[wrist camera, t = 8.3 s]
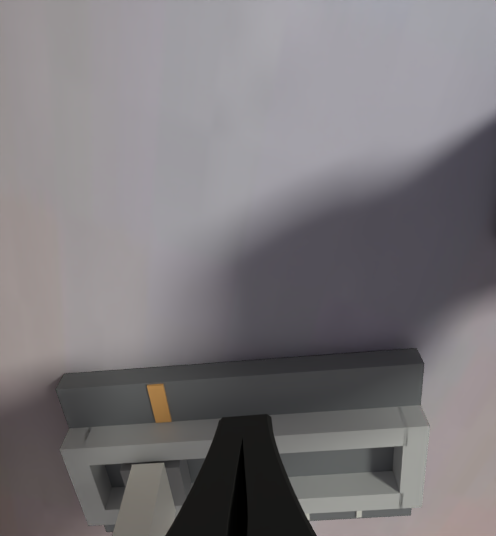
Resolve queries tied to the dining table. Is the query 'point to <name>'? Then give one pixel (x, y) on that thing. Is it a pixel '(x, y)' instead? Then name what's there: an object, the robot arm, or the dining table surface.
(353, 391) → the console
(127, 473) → the fader
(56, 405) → the dining table surface
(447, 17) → the dining table surface
